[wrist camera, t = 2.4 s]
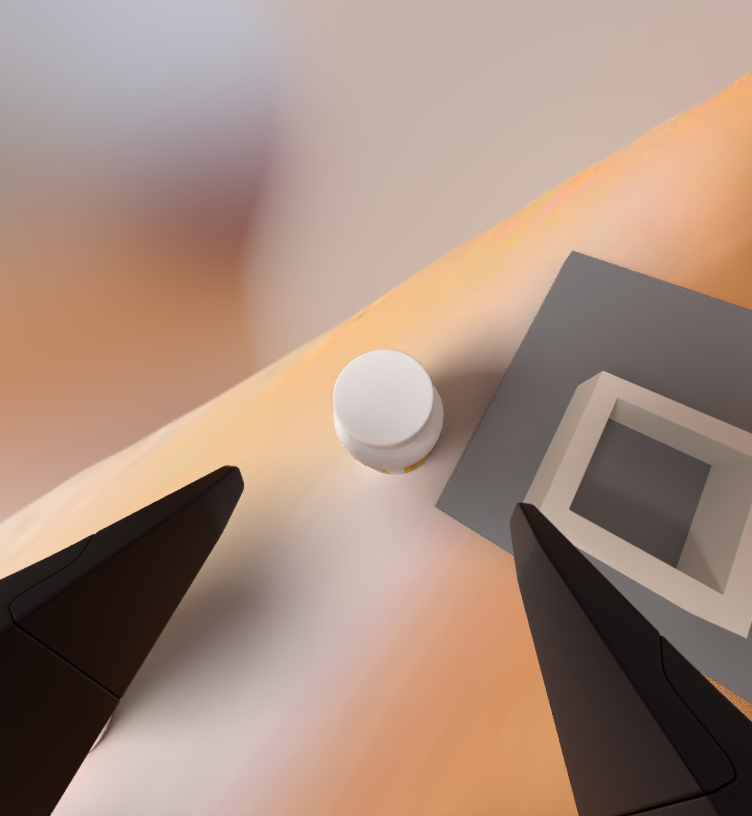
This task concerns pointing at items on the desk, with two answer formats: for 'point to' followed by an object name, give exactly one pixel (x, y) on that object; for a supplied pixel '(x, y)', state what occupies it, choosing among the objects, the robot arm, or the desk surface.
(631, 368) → the awning socket
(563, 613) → the robot arm
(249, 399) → the desk surface
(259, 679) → the desk surface
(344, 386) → the supplement bottle
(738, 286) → the desk surface
